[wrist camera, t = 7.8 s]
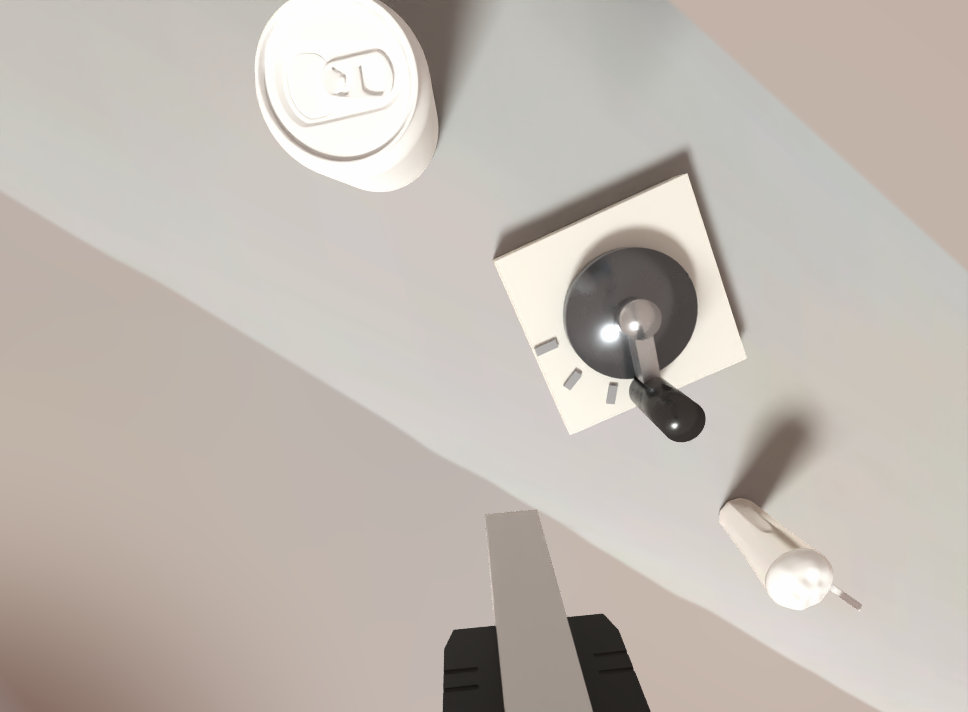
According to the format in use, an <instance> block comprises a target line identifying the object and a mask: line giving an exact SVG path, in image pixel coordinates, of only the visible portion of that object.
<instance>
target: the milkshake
mask: <svg viewBox="0 0 968 712" xmlns="http://www.w3.org/2000/svg"><path fill="white" fill-rule="evenodd" d="M719 523H720V524H721V526H722V527H723V528H724V530H725V531H726V532H727V534H728V535H729V537H730V538H731V539H732V541H733V542H734V543H735V545H736V546H737V547H738V549H739V550H740V552H741V553H742V554H743V556H744V557H745V559H746V560H747V562H748V563H749V565H750V566H751V568H752V569H753V571H754V573H755V574H756V576H757V577H758V579H759V580H760V581H761V583H762V584H763V586H764V587H765V589H766V590H767V592H768V593H769V595H770V597H771V598H772V599H773V600H774V601H775V602H776V603H777V604H779V605H781V606H784V607H787V608H791V609H795V610H803V609H805V608H807V607H809V606H812V605H815V604H817V603H819V602H820V601H821V600H822V599H823V597H824V596H825V595H826V594H827V592H828V591H829V590H830V591H832V592H833V593H835V594H836V595H837V596H839V597H840V598H842V599H843V600H845V601H846V602H847V603H849V604H850V605H852V606H853V607H854V608H856V609H857V610H860V608H861V606H862V605H861V604H860V603H859V602H857V601H856V600H855V599H853V598H852V597H850V596H849V595H847V594H846V593H844V592H843V591H842V590H840V589H839V588H837V587H836V586H834V585H833V584H832V580H833V570H832V567H831V565H830V563H829V561H828V560H827V558H826V557H825V556H824V555H822V554H821V553H820V552H818V551H817V550H815V549H814V548H813V547H811V546H810V545H808V544H807V543H806V542H804V541H803V540H802V539H800V538H799V537H797V536H796V535H795V534H793V533H792V532H791V531H789V530H788V529H787V528H786V527H784V526H783V525H782V524H780V523H779V522H778V521H777V520H775V519H774V518H773V517H771V516H770V515H769V514H768V513H766V512H765V511H764V510H762V509H761V508H760V507H758V506H757V505H756V504H755V503H753V502H752V501H751V500H747V499H743V498H737V499H734V500H731V501H728V502H727V503H726V504H725V505H724V506H723V508H722V509H721V510H720V514H719Z"/></svg>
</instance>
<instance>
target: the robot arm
mask: <svg viewBox="0 0 968 712" xmlns="http://www.w3.org/2000/svg"><path fill="white" fill-rule="evenodd" d="M485 516H486V530H487V543H488V556H489V569H490V582H491V595H492V605H493V616H494V626H488V627H478V628H468V629H458V630H453V632H452V635H451V636H450V639H449V641H448V642H447V645H446V647H445V649H444V683H443V689H444V693H443V712H650V709H649V706H648V704H647V701H646V699H645V697H644V694H643V691H642V689H641V686H640V683H639V681H638V678H637V676H636V673H635V672H634V670H633V666H632V663H631V661H630V658H629V655H628V654H627V650H626V648H625V645H624V643H623V640H622V638H621V635H620V633H619V630H618V629H617V628H616V627H615V626H614V625H613V624H612V623H611V622H610V621H609V619H608V618H607V617H606V616H605V615H604V614H594V615H585V616H574V617H566V613H565V609H564V606H563V602H562V598H561V595H560V591H559V588H558V584H557V580H556V577H555V573H554V569H553V566H552V562H551V559H550V555H549V551H548V548H547V544H546V541H545V537H544V534H543V530H542V526H541V523H540V519H539V515H538V512H537V510H528V511H517V512H506V513H495V514H486V515H485Z"/></svg>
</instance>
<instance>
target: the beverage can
mask: <svg viewBox="0 0 968 712" xmlns="http://www.w3.org/2000/svg"><path fill="white" fill-rule="evenodd" d="M255 85H256V93H257V98H258V102H259V106H260V109H261V112H262V114H263V117H264V119H265V121H266V123H267V125H268V127H269V129H270V131H271V132H272V134H273V135H274V137H275V138H276V140H277V141H278V142H279V144H280V145H281V146H282V147H283V148H284V149H285V150H286V151H287V152H288V153H289V154H290V155H291V156H292V157H293V158H294V159H296V160H297V161H298V162H300V163H301V164H303V165H304V166H306V167H307V168H309V169H311V170H313V171H315V172H317V173H320V174H322V175H325V176H328V177H330V178H333V179H336V180H338V181H341V182H344V183H346V184H349V185H352V186H354V187H357V188H360V189H363V190H367V191H373V192H387V191H393V190H396V189H399V188H402V187H404V186H406V185H408V184H410V183H411V182H413V181H414V180H415V179H417V178H418V177H419V176H420V175H421V174H422V173H423V171H424V170H425V169H426V168H427V166H428V165H429V163H430V161H431V159H432V157H433V155H434V152H435V149H436V146H437V141H438V117H437V111H436V106H435V100H434V95H433V89H432V84H431V78H430V73H429V68H428V64H427V61H426V58H425V55H424V52H423V50H422V48H421V46H420V43H419V42H418V40H417V38H416V36H415V35H414V33H413V32H412V30H411V29H410V27H409V26H408V25H407V24H406V22H405V21H404V20H403V19H402V18H401V17H400V16H399V15H398V14H397V13H396V12H395V11H394V10H392V9H391V8H390V7H388V6H387V5H386V4H384V3H383V2H381V1H380V0H288V1H287V2H285V3H284V4H283V5H282V6H281V7H279V8H278V9H277V11H276V12H275V13H274V14H273V15H272V17H271V18H270V19H269V21H268V22H267V24H266V26H265V28H264V30H263V32H262V34H261V37H260V39H259V43H258V46H257V51H256V57H255Z"/></svg>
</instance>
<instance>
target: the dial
mask: <svg viewBox="0 0 968 712" xmlns="http://www.w3.org/2000/svg"><path fill="white" fill-rule="evenodd" d="M697 315H698V302H697V295H696V291H695V288H694V285H693V282H692V280H691V279H690V277H689V275H688V274H687V272H686V271H685V270H684V268H683V267H682V266H681V265H680V264H679V263H678V262H677V261H675V260H674V259H673V258H671V257H670V256H668V255H666V254H664V253H662V252H659V251H656V250H653V249H648V248H641V247H622V248H617V249H613V250H610V251H607V252H605V253H603V254H601V255H599V256H597V257H596V258H594V259H593V260H591V261H590V262H589V263H588V264H586V265H585V266H584V267H583V268H582V269H581V270H580V272H579V273H578V274H577V275H576V277H575V278H574V280H573V281H572V283H571V285H570V287H569V289H568V292H567V294H566V297H565V302H564V307H563V324H564V330H565V333H566V336H567V339H568V341H569V343H570V345H571V347H572V348H573V350H574V351H575V353H576V354H577V355H578V356H579V357H580V358H581V359H582V360H583V362H585V363H586V364H587V365H588V366H589V367H590V368H592V369H594V370H595V371H597V372H599V373H601V374H603V375H606V376H609V377H612V378H618V379H633V381H632V382H631V384H630V387H629V396H630V399H631V400H632V402H633V403H634V404H635V405H636V406H637V407H638V408H639V409H640V410H641V411H642V412H643V413H644V414H645V415H646V416H647V417H648V418H649V419H650V420H651V421H652V422H653V423H654V424H655V425H656V426H657V427H658V428H659V429H660V430H661V431H662V432H663V433H664V434H665V435H666V436H667V437H668V438H669V439H671V440H673V441H676V442H687V441H690V440H692V439H694V438H695V437H697V436H698V435H699V434H700V433H701V431H702V430H703V428H704V425H705V413H704V411H703V409H702V408H701V407H700V406H699V405H698V404H697V403H695V402H694V401H693V400H691V399H690V398H689V397H687V396H686V395H685V394H683V393H682V392H681V391H679V390H678V389H677V388H675V387H674V386H673V385H671V384H670V383H669V382H667V381H666V380H664V379H663V378H662V377H661V375H660V370H662V369H663V368H665V367H667V366H668V365H669V364H670V363H672V362H673V361H674V360H675V359H676V358H677V357H678V356H679V355H680V354H681V353H682V351H683V350H684V349H685V347H686V346H687V344H688V342H689V341H690V339H691V337H692V334H693V332H694V329H695V325H696V321H697Z"/></svg>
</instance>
